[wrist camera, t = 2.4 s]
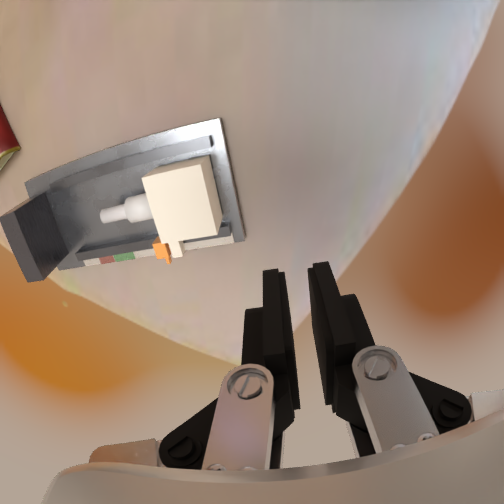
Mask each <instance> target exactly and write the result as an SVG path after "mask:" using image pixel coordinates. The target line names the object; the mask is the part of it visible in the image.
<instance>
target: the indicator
mask: <svg viewBox="0 0 504 504" xmlns="http://www.w3.org/2000/svg"><path fill="white" fill-rule="evenodd" d="M152 245H153V248H154V251H155V254H156V257H157V259H162V258H165V259H166V262H167V264H170V263H171V261H172V260H171V257H170V255H171V250H170V247H169V244H168V243H165V244H162V243H161V240H160V237H159V236H158V237H157V238H156V239H155V241H154V242H153V244H152Z"/></svg>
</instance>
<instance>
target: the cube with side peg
mask: <svg viewBox="0 0 504 504" xmlns="http://www.w3.org/2000/svg"><path fill="white" fill-rule="evenodd" d="M142 182H143V185H144V189H145V192H146V193H144V194H140V195H135V196H131V197H128V198H126V200H125V204H121V205H117V206H113V207H110V208H106V209H102V210H101V212H100V218H101V221H102V222H103V223H104V224H105V223H110V222H114V221H118V220H123V219H128V220H129V221H130V222H131V223H134V222H139V221H144V220H149V219H154V222H155V225H156V228H157V231H158V234H159V237H160V240H161V243H162V244H165V243H168V244H169V247H170V250H171V253H172V256H173V258H175V257H182V256H183V255H184V253H185V251H186V249H185V246H184V243H183V240H189V239H195V238H201V237H207V236H214V235H218V231H219V228H220V225H221V221H222V218H223V215H222V210H221V206H220V202H219V197H218V193H217V189H216V184H215V180H214V175H213V171H212V166H211V162H210V157H209V155H205V156H201V157H196V158H191V159H187V160H182V161H178V162H174V163H170V164H166V165H161V166H157V167H156V168H154V169H153V170H152V171H150V172H149V173H147V174H146V175H145V176H143V177H142Z"/></svg>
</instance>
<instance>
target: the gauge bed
mask: <svg viewBox="0 0 504 504" xmlns="http://www.w3.org/2000/svg"><path fill="white" fill-rule="evenodd" d="M205 155H209V157H210V162H211V166H212V171H213V175H214V180H215V184H216V189H217V193H218V197H219V202H220V206H221V210H222V215H223V218H222V221H221V225H220V228H219V231H218V235H214V236H207V237H201V238H195V239H189V240H183V243H184V246H185V249H186V250H191V249H198V248H204V247H211V246H218V245H224V244H231V243H235V242H241V241H245V232H244V227H243V222H242V217H241V213H240V208H239V203H238V198H237V193H236V188H235V184H234V179H233V174H232V169H231V164H230V159H229V155H228V150H227V145H226V140H225V135H224V130H223V125H222V120H221V118H218V119H213V120H208V121H204V122H199V123H195V124H191V125H186V126H182V127H178V128H174V129H171V130H167V131H163V132H159V133H156V134H152V135H149V136H145V137H142V138H139V139H135V140H132V141H129V142H126V143H123V144H120V145H117V146H114V147H111V148H108V149H105V150H102V151H99V152H96V153H93V154H91V155H88V156H85V157H83V158H80V159H77V160H75V161H72V162H70V163H67V164H65V165H62V166H60V167H58V168H55V169H53V170H50V171H48V172H46V173H44V174H41V175H39V176H37V177H35V178H32V179H30V180H28V181H26V182H25V186H26V189H27V192H28V195H29V199H27V200H25V201H24V202H22V203H21V204H19V205H17V206H16V207H14V208H13V209H11V210H10V211H8V212H7V213H5V214H4V215H2V216H1V217H0V222H1V224H2V227H3V230H4V232H5V234H6V237H7V239H8V242H9V244H10V246H11V249H12V251H13V253H14V255H15V257H16V259H17V262H18V264H19V266H20V268H21V270H22V272H23V274H24V276H25V278H26V280H27V282H34V281H41V280H44V279H45V278H46V277H47V276H48V275H49V274H50V273H51V272H52V271H53V270H54V268H55V267H56V266H57V267H58V269H59V270H65V269H71V268H77V267H83V266H91V265H97V264H105V263H111V262H115V261H116V262H117V261H124V260H130V259H135V258H140V257H147V256H153V255H156V254H155V251H154V248H153V245H152V244H153V242H154V241H155V239H156V238H157V237H158V236H159V234H158V231H157V228H156V225H155V222H154V219H149V220H144V221H139V222H134V223H131V222H130V221H129V220H128V219H123V220H118V221H114V222H110V223H105V224H104V223H103V222H102V221H101V218H100V212H101V210H102V209H106V208H110V207H113V206H117V205H121V204H125V200H126V198H128V197H131V196H135V195H140V194H144V193H146V192H145V189H144V185H143V182H142V177H143V176H145V175H146V174H147V173H149V172H150V171H152V170H153V169H154V168H156V167H157V166H161V165H166V164H170V163H174V162H178V161H182V160H187V159H191V158H196V157H201V156H205Z"/></svg>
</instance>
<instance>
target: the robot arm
mask: <svg viewBox="0 0 504 504" xmlns="http://www.w3.org/2000/svg"><path fill="white" fill-rule="evenodd" d="M308 280H309V291H310V303H311V316H312V328H313V334H314V340H315V345H316V350H317V357H318V362H319V368H320V374H321V380H322V386H323V393H324V399H325V404H326V405H332V411H333V413H335V412H336V415H337V416H339V417H340V418H342V419H344V420H346V426H347V429H348V432H349V436H350V439H351V442H352V446H353V449H354V453H355V456H356V458H355V459H350V460H345V461H339V462H333V463H327V464H320V465H312V466H304V467H295V468H284V469H282V466H283V454H284V440H285V429H286V428H287V427H289V426H290V425H291V424H292V422H293V421H294V418H295V416H294V410H296V409H300V399H299V388H298V378H297V368H296V358H295V350H294V340H293V331H292V323H291V315H290V308H289V301H288V293H287V286H286V279H285V272H279V271H278V269H271V270H264V271H263V307H260V308H252V309H246V310H245V319H244V333H243V348H242V363H241V366H238V367H235V368H234V369H232V370H231V371H229V372H228V374H227V375H226V376H225V377H224V379H223V381H222V384H221V389H220V393H219V397H218V398H217V399H215V400H214V401H213V402H211V403H210V404H209V405H207V406H206V407H205V408H203V409H202V410H201V411H199V412H198V413H197V414H195V415H194V416H193V417H191V418H190V419H189V420H187V421H186V422H184V423H183V424H182V425H180V426H179V427H177V428H176V429H175V430H173V431H172V432H170V433H169V434H168V435H167V436H166V437H165V438H164V439H163V440H158V441H156V440H155V439H148V440H143V441H135V442H129V443H121V444H114V445H104V446H101V447H98V448H97V449H96V450H94V451H93V453H92V454H91V456H90V459H89V463H85V464H80V465H76V466H72V467H69V468H67V469H64V470H63V471H61V472H59V473H58V474H57V475H56V476H55V477H54V479H53V480H52V482H51V483H50V485H49V487H48V489H47V491H46V493H45V495H44V498H43V501H42V503H41V504H504V389H502V390H495V391H487V392H478V393H471V395H470V396H467V397H465V396H464V395H463V394H461V393H459V392H457V391H454V390H452V389H450V388H447V387H445V386H442V385H439V384H437V383H435V382H432V381H430V380H427V379H425V378H422V377H420V376H418V375H415V374H413V373H411V372H408V370H407V368H406V366H405V365H404V363H403V361H402V359H401V357H400V356H399V355H398V353H397V352H395V351H394V350H393V349H391V348H388V347H385V346H377V345H375V343H374V340H373V337H372V335H371V332H370V329H369V327H368V324H367V322H366V319H365V317H364V314H363V311H362V309H361V307H360V304H359V302H358V299H357V297H356V295H355V294H349V295H344V296H340V293H339V290H338V287H337V284H336V281H335V278H334V276H333V273H332V270H331V267H330V265H329V262H328V261H327V262H320V263H313V268H308Z"/></svg>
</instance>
